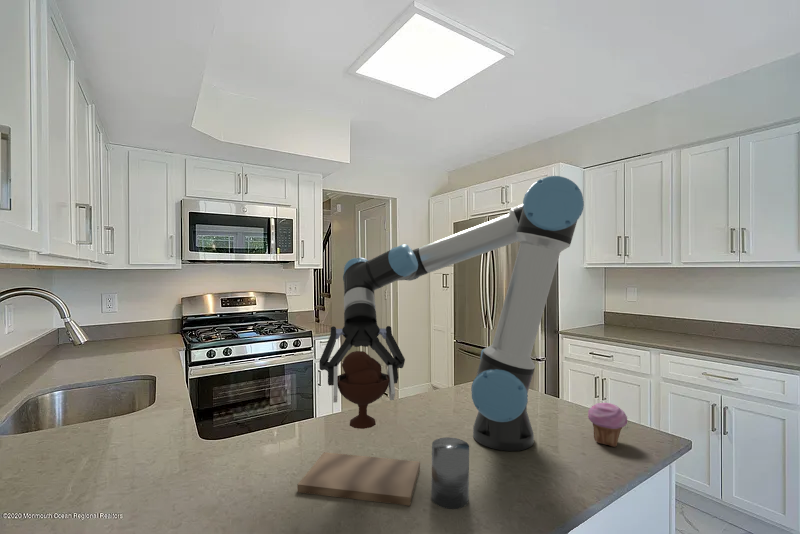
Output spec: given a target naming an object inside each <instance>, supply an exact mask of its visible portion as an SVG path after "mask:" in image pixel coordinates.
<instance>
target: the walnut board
mask: <svg viewBox="0 0 800 534" xmlns="http://www.w3.org/2000/svg"><path fill="white" fill-rule="evenodd" d="M420 469H421V461H417V460H416V461H415V460H407V459H397V458H386V457H377V456H367V455H366V456H365V455H355V454H348V453H347V454H345V453H336V452H326V451H324V452H323V453H322V454H321V455H320V456H319V457H318V458H317V460H316V461H315V462H314V464H313V465H312V466H311V467H310V469H309V470H308V471H307V472H306V474H305V475H304V476H303V477H302V478H301V479H300V481H299V482H298V483H297V486H296V487H297V489H296V493H299V494H301V493H302V494H308V495H315V496H316V495H319V496H325V497H332V498H334V497H335V498H344V499H351V500H358V501H359V500H360V501H368V502H378V503H386V504H395V505H400V506H401V505H402V506H409V507H410V506H411V504H412V499H413V496H414V491H415V489H416V485H417V481H418V477H419V474H420Z"/></svg>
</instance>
